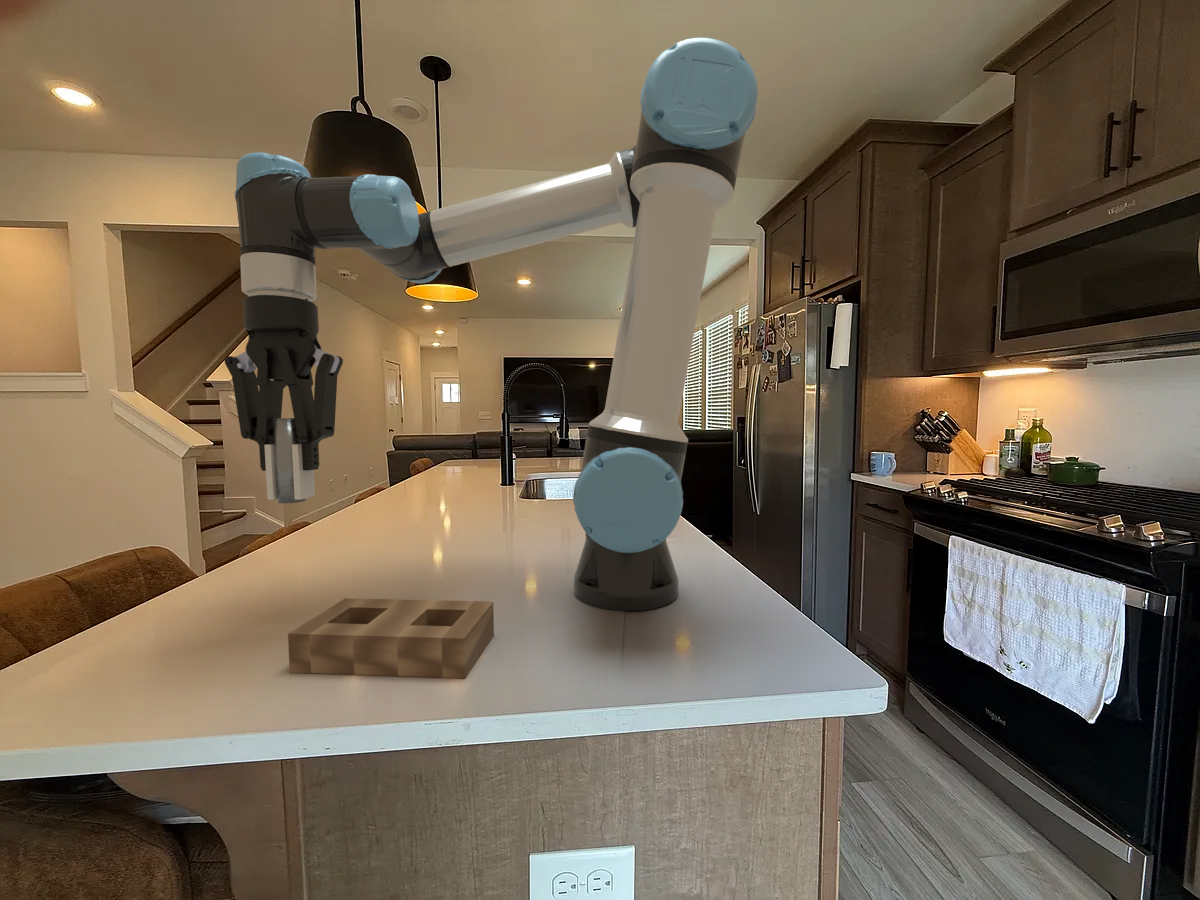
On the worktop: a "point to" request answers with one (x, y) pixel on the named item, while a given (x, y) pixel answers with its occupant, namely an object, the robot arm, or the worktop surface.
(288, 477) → the peg
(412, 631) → the socket block
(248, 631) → the worktop surface
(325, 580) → the worktop surface
